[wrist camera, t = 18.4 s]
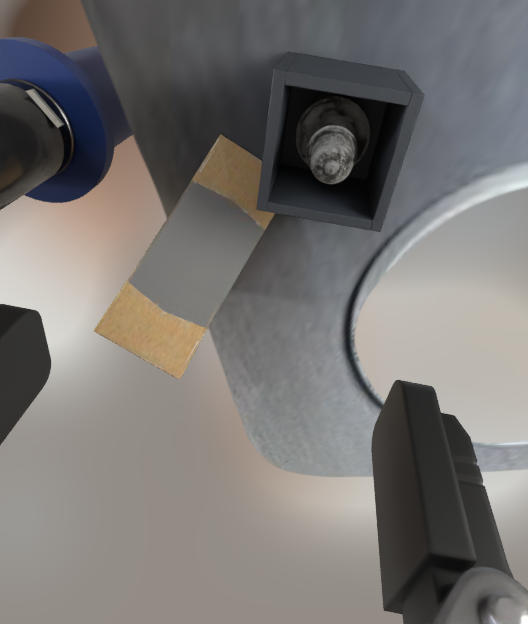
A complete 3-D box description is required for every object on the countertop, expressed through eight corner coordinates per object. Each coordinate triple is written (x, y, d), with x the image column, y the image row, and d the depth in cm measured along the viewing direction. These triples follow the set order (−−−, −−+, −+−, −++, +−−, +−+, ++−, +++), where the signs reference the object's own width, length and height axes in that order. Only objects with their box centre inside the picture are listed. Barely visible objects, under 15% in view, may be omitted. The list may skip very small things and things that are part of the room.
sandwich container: (295, 185, 42) (279, 262, 30) (217, 289, 50) (180, 382, 38) (219, 130, 40) (169, 190, 28) (151, 248, 48) (90, 333, 36)
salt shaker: (294, 94, 36) (279, 131, 27) (366, 82, 35) (377, 116, 26) (302, 164, 40) (292, 219, 30) (368, 156, 38) (379, 210, 29)
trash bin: (271, 167, 41) (256, 210, 33) (288, 51, 35) (273, 69, 27) (372, 185, 41) (380, 232, 33) (404, 71, 35) (424, 94, 27)
